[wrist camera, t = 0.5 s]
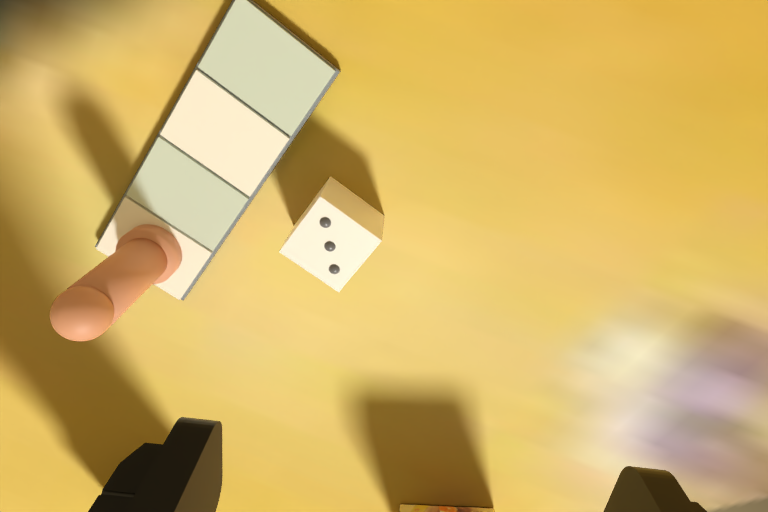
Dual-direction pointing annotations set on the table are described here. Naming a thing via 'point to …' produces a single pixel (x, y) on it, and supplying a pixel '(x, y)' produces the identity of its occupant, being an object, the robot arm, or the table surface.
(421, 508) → the candy box
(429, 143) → the table surface
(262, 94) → the track
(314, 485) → the table surface
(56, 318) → the pawn
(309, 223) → the die
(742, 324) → the table surface
